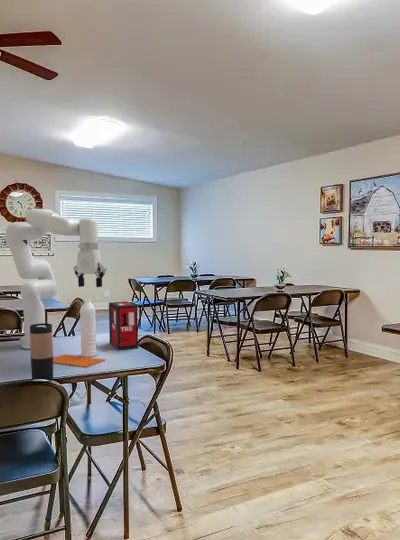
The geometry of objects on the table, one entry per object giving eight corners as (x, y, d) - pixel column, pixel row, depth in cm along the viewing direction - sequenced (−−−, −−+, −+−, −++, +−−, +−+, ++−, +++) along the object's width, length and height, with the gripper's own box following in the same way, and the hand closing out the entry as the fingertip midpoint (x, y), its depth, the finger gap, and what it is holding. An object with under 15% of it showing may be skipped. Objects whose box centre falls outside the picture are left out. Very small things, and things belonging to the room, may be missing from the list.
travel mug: (34, 377, 171) (32, 323, 170) (55, 376, 172) (54, 323, 171) (28, 383, 164) (26, 327, 162) (51, 383, 164) (49, 326, 163)
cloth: (43, 361, 194) (43, 360, 194) (64, 355, 205) (64, 354, 205) (85, 367, 184) (85, 366, 184) (104, 360, 195) (104, 359, 195)
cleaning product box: (109, 343, 228) (108, 302, 227) (127, 341, 232) (126, 301, 231) (119, 350, 213) (118, 306, 212) (137, 348, 217) (137, 305, 216)
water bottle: (83, 357, 200) (81, 299, 198) (79, 354, 205) (78, 298, 204) (103, 355, 204) (101, 298, 202) (99, 352, 209) (98, 297, 208)
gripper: (67, 247, 202) (68, 287, 203) (99, 247, 194) (100, 288, 195) (79, 247, 208) (80, 285, 209) (110, 246, 201) (111, 286, 202)
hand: (90, 286), depth 202 cm, fingers open, 9 cm apart
